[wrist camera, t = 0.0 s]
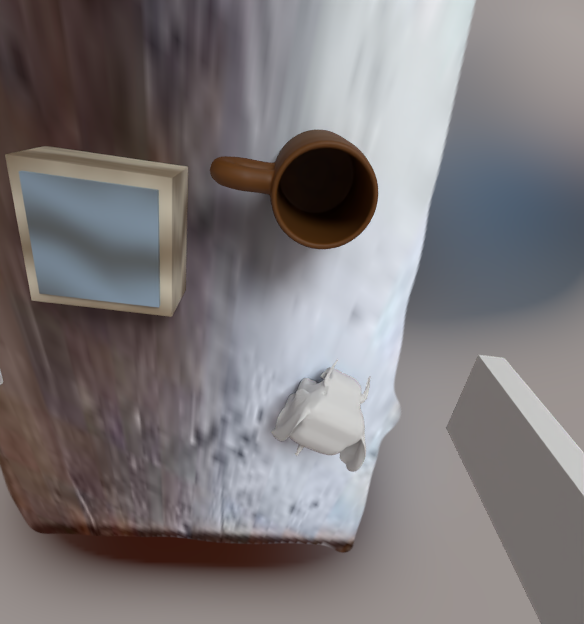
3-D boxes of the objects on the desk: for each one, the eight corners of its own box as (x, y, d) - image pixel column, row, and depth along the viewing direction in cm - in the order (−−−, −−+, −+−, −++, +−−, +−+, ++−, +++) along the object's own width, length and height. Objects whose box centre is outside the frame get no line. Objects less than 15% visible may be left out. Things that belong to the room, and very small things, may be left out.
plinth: (45, 146, 34) (1, 154, 29) (187, 166, 35) (170, 179, 30) (63, 275, 40) (29, 302, 34) (185, 290, 41) (170, 318, 35)
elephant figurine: (385, 371, 46) (405, 428, 38) (327, 437, 51) (334, 500, 43) (315, 335, 43) (321, 387, 36) (261, 408, 48) (256, 468, 40)
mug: (218, 198, 36) (198, 228, 28) (229, 106, 33) (210, 109, 25) (345, 225, 38) (362, 261, 29) (369, 139, 34) (396, 152, 26)
